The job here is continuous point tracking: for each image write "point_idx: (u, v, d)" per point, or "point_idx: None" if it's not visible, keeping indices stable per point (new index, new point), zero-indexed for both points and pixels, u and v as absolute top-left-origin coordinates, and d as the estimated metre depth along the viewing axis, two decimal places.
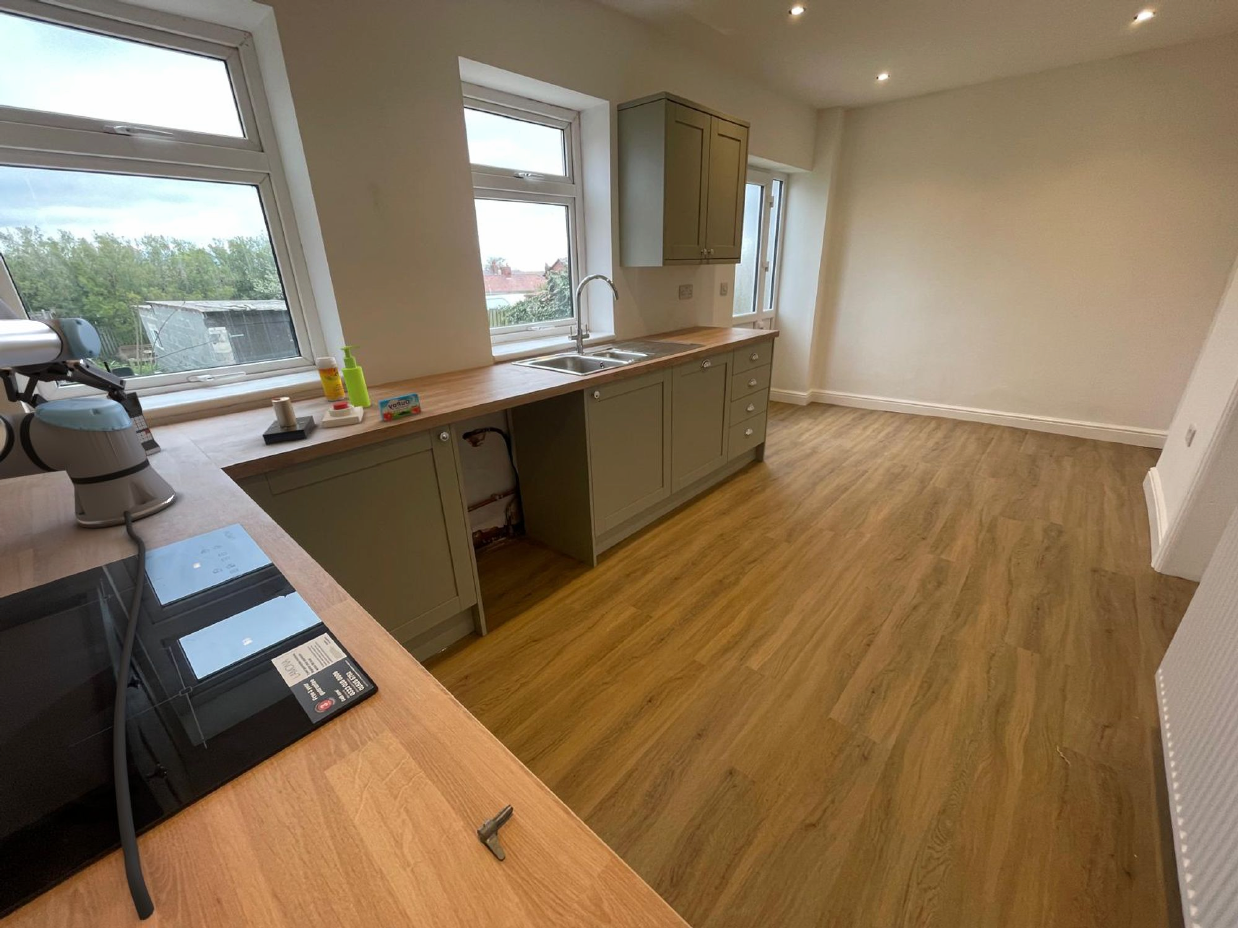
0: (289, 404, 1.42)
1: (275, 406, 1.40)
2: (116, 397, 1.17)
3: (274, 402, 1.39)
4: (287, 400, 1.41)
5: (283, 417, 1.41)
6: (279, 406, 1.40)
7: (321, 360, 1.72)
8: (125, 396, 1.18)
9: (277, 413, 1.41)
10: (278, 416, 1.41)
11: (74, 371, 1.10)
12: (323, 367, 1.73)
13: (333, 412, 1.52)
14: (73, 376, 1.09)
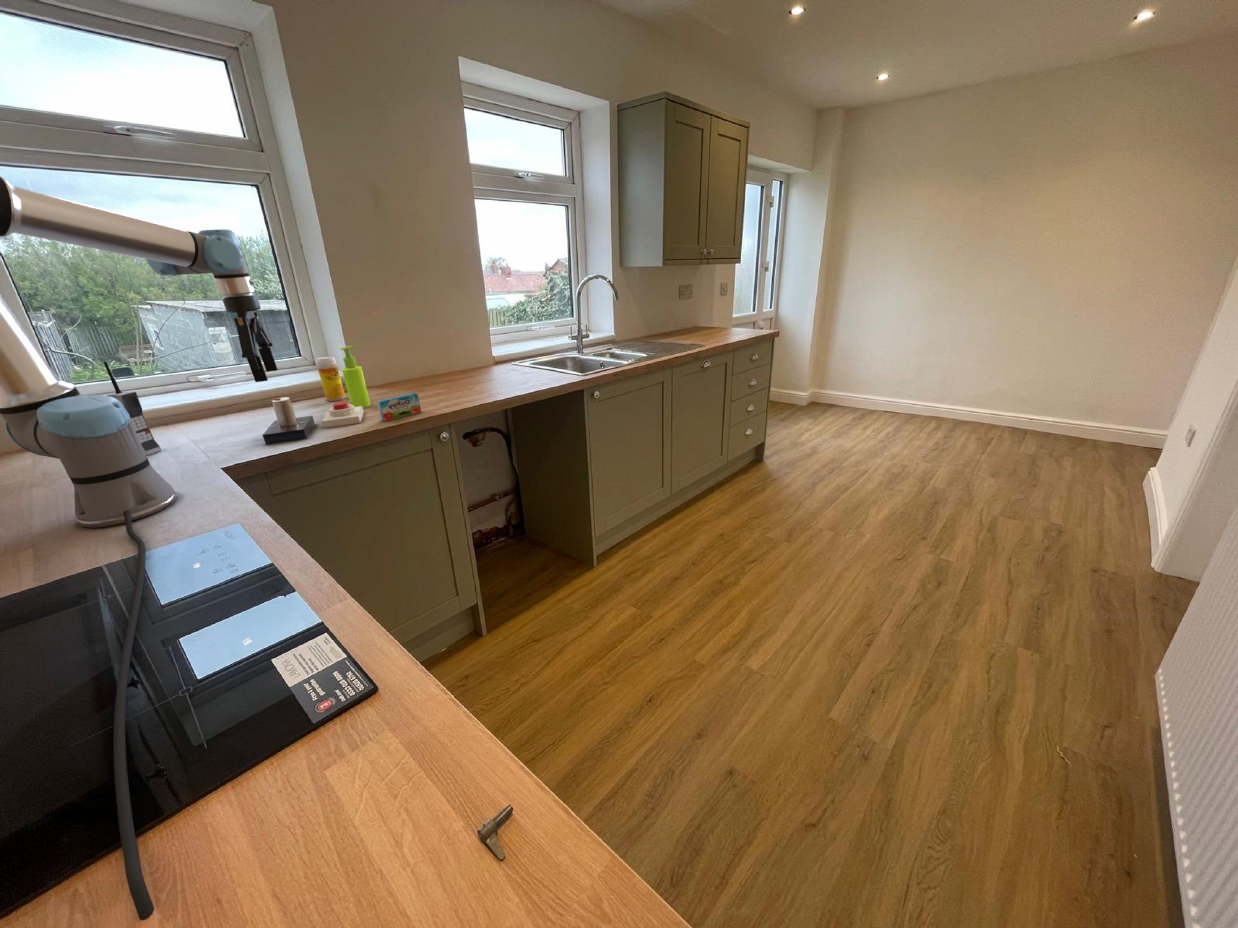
0: (289, 404, 1.42)
1: (275, 406, 1.40)
2: None
3: (274, 402, 1.39)
4: (287, 400, 1.41)
5: (283, 417, 1.41)
6: (279, 406, 1.40)
7: (321, 360, 1.72)
8: (254, 367, 1.30)
9: (277, 413, 1.41)
10: (278, 416, 1.41)
11: (249, 330, 1.30)
12: (323, 367, 1.73)
13: (333, 412, 1.52)
14: None
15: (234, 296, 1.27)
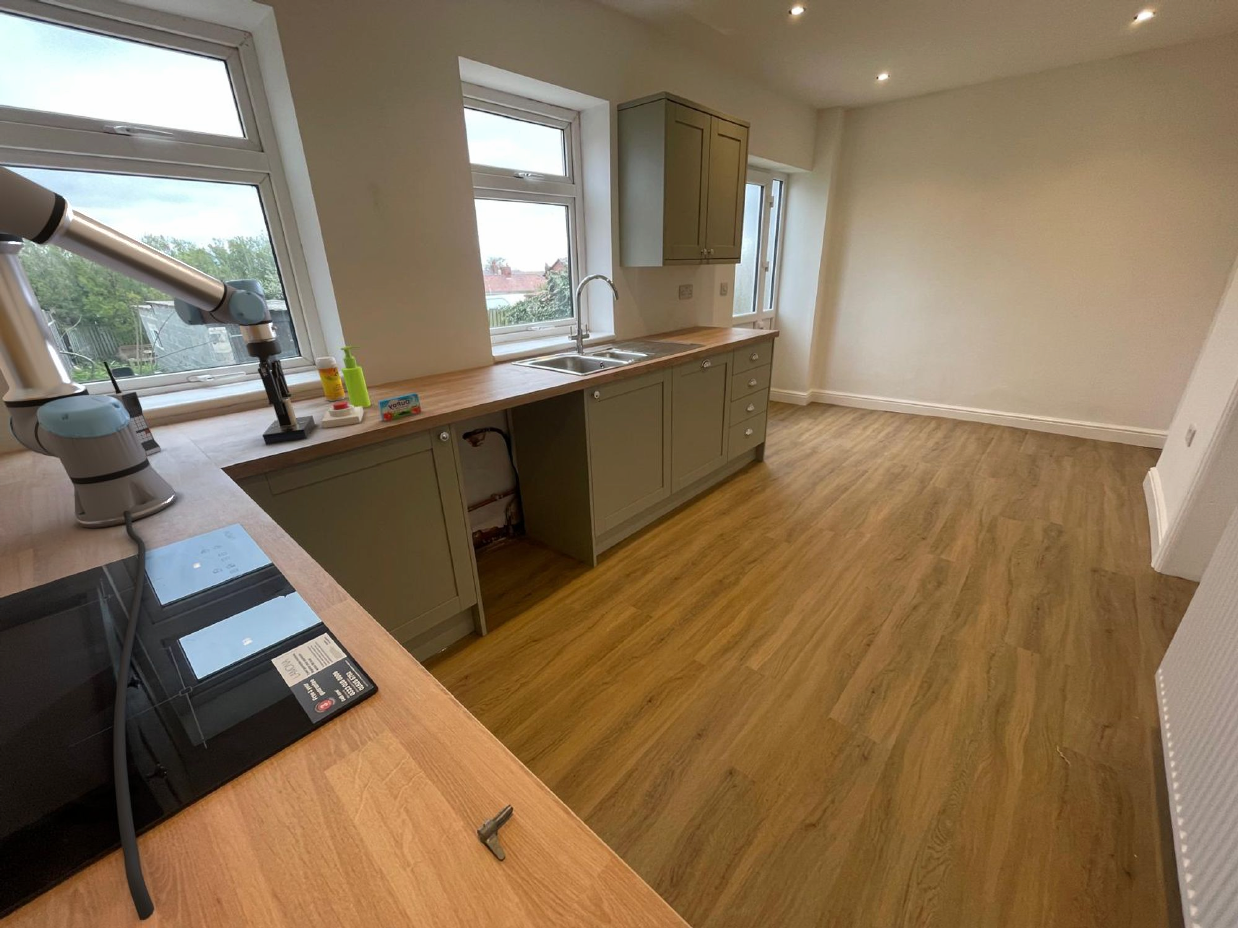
0: (289, 404, 1.42)
1: None
2: None
3: None
4: (287, 400, 1.41)
5: None
6: None
7: (321, 360, 1.72)
8: (279, 412, 1.39)
9: None
10: None
11: (271, 372, 1.36)
12: (323, 367, 1.73)
13: (333, 412, 1.52)
14: None
15: (257, 342, 1.32)
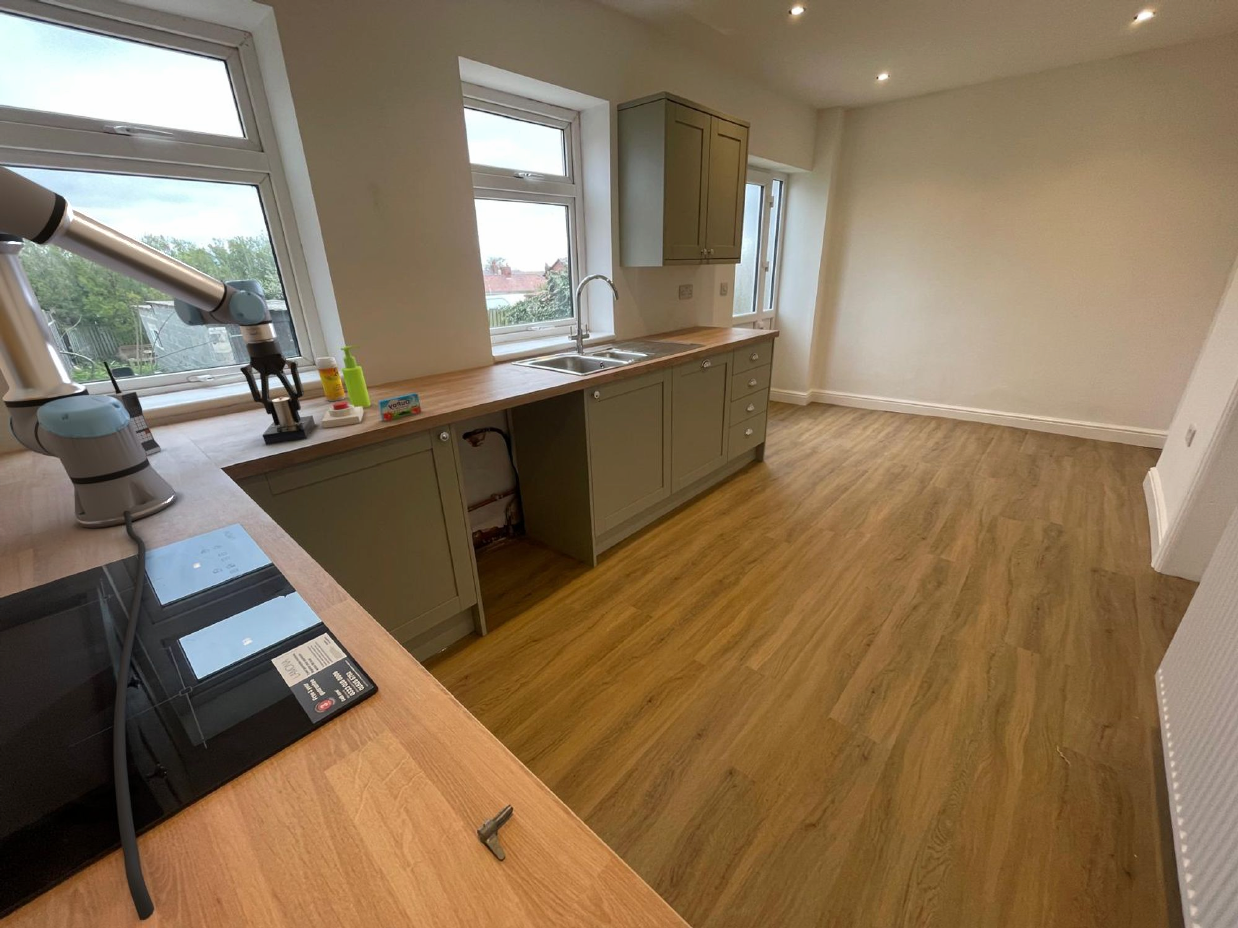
0: (276, 406, 1.40)
1: None
2: None
3: None
4: (274, 402, 1.40)
5: None
6: None
7: (321, 360, 1.72)
8: None
9: None
10: None
11: None
12: (323, 367, 1.73)
13: (333, 412, 1.52)
14: None
15: None
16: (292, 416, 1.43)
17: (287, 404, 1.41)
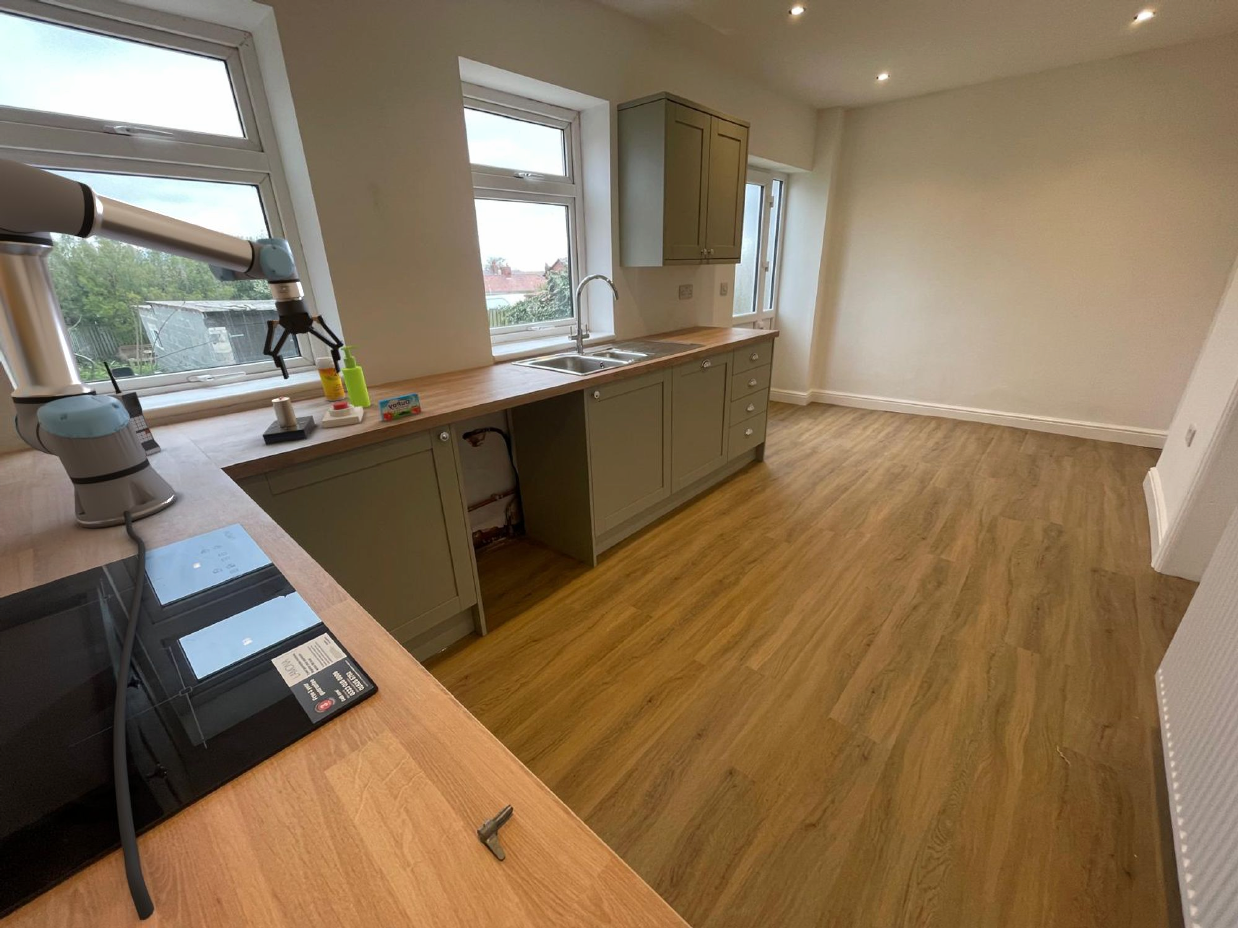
0: (276, 406, 1.40)
1: None
2: None
3: None
4: (274, 402, 1.40)
5: None
6: None
7: (321, 360, 1.72)
8: None
9: None
10: None
11: (284, 332, 1.40)
12: (323, 367, 1.73)
13: (333, 412, 1.52)
14: None
15: None
16: (292, 416, 1.43)
17: (287, 404, 1.41)
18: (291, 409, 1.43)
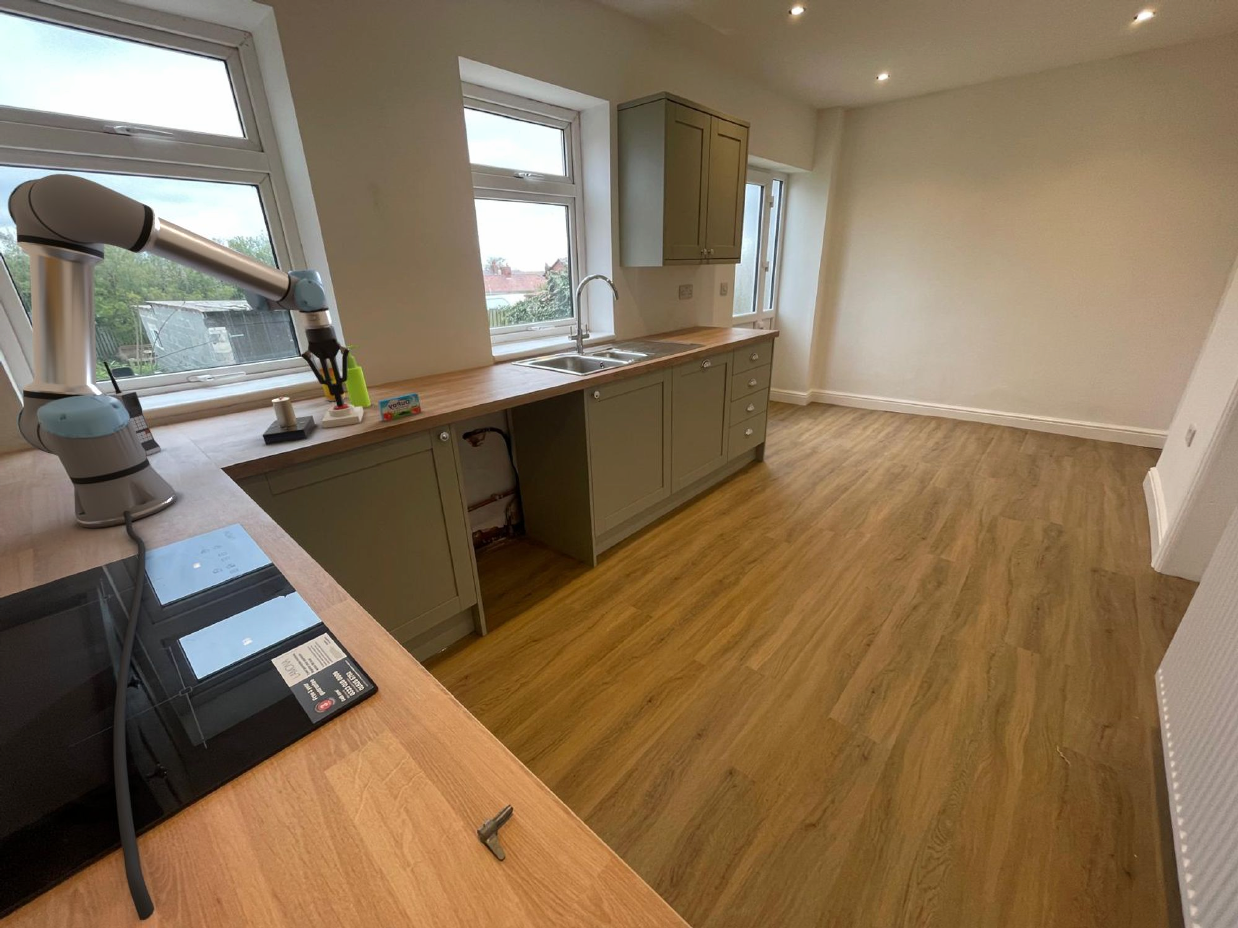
0: (276, 406, 1.40)
1: None
2: None
3: None
4: (274, 402, 1.40)
5: None
6: None
7: None
8: (330, 392, 1.52)
9: None
10: None
11: None
12: None
13: (333, 412, 1.52)
14: None
15: None
16: (292, 416, 1.43)
17: (287, 404, 1.41)
18: (291, 409, 1.43)
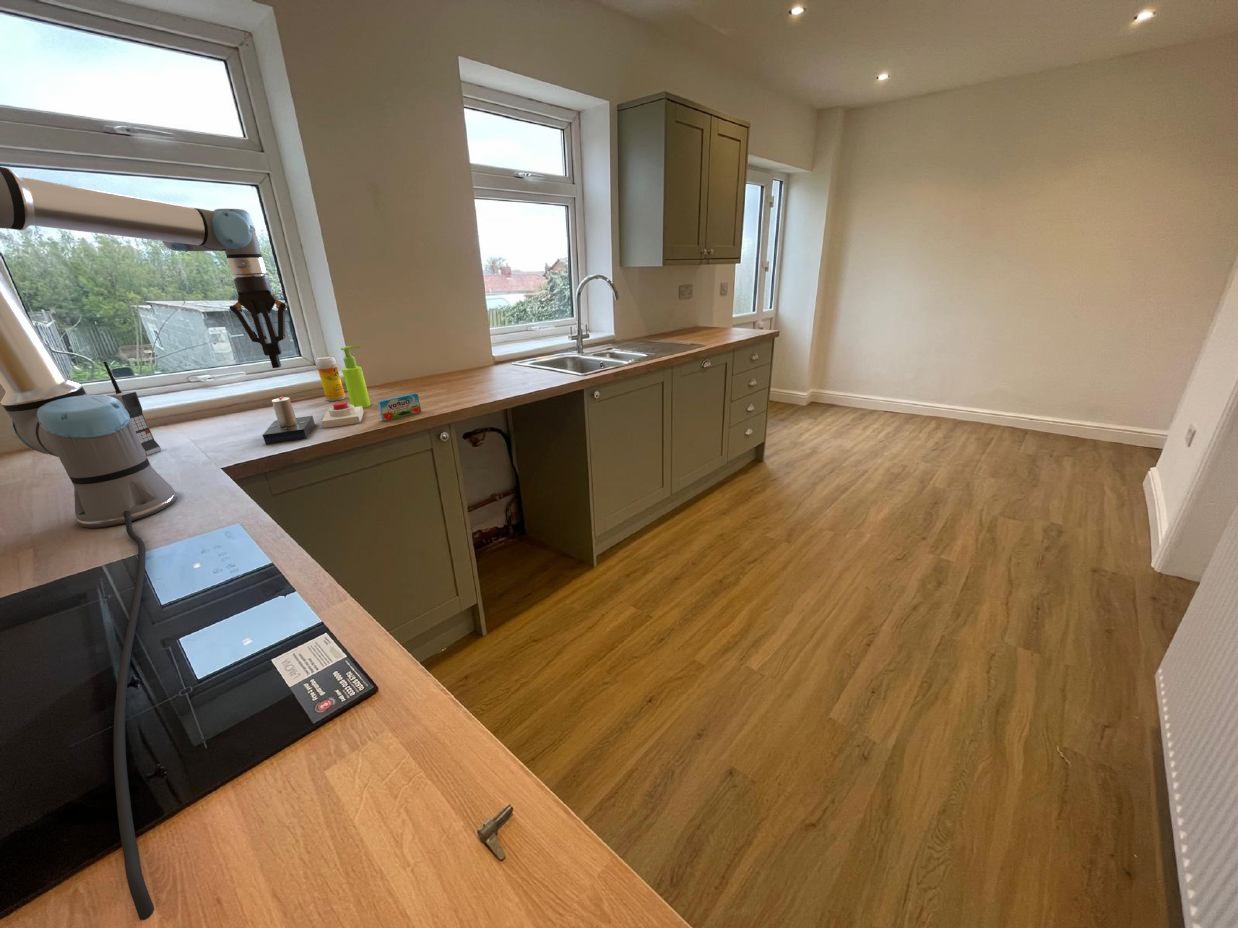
0: (276, 406, 1.40)
1: None
2: None
3: None
4: (274, 402, 1.40)
5: None
6: None
7: (321, 360, 1.72)
8: None
9: None
10: None
11: None
12: (323, 367, 1.73)
13: (333, 412, 1.52)
14: None
15: None
16: (292, 416, 1.43)
17: (287, 404, 1.41)
18: (291, 409, 1.43)
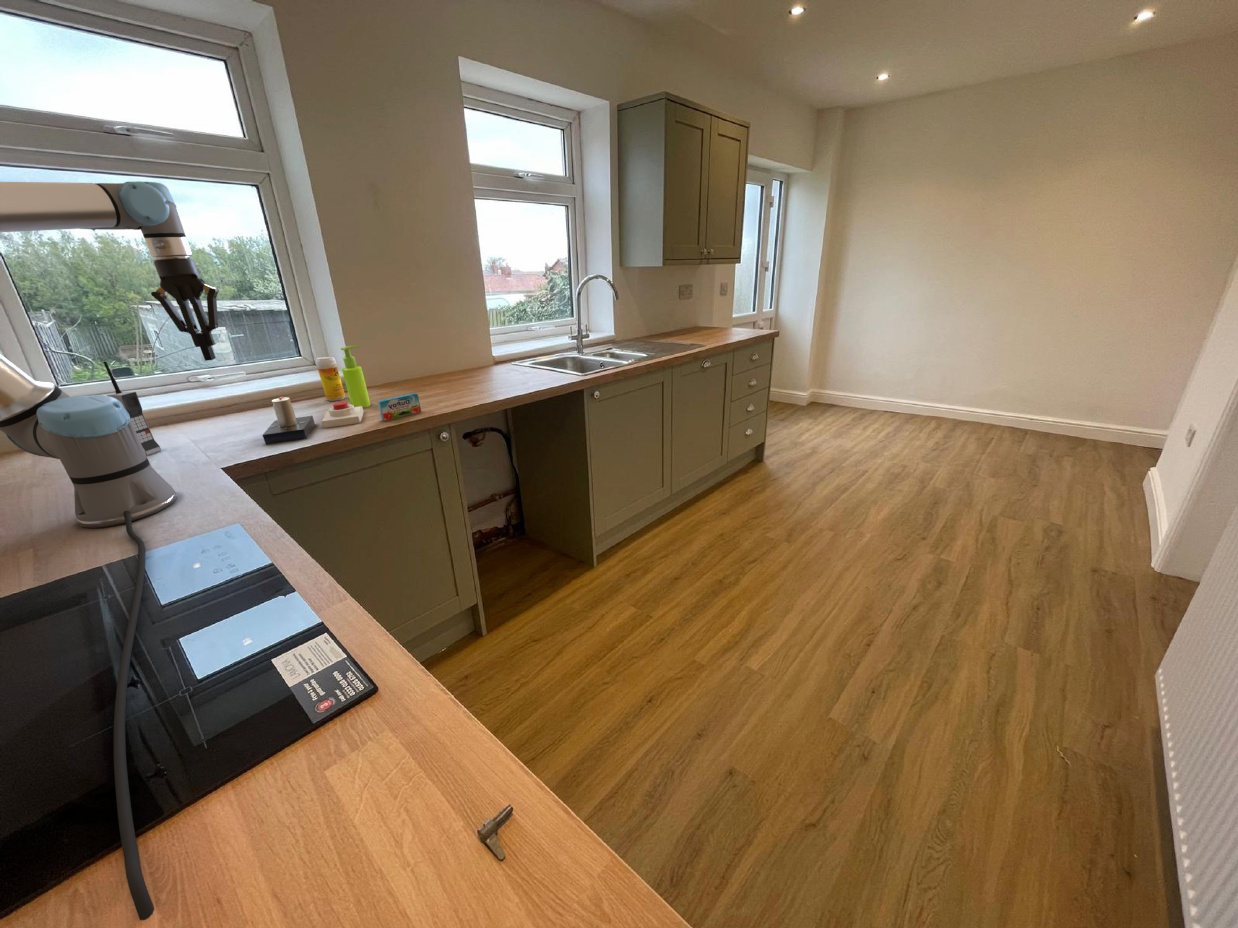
0: (276, 406, 1.40)
1: None
2: None
3: None
4: (274, 402, 1.40)
5: None
6: None
7: (321, 360, 1.72)
8: None
9: None
10: None
11: None
12: (323, 367, 1.73)
13: (333, 412, 1.52)
14: None
15: None
16: (292, 416, 1.43)
17: (287, 404, 1.41)
18: (291, 409, 1.43)
